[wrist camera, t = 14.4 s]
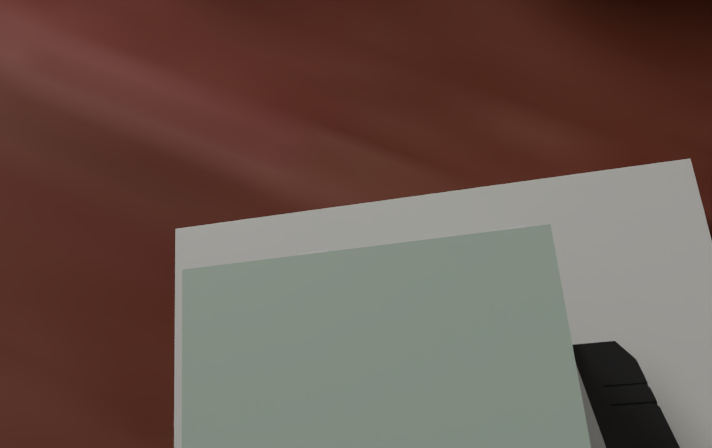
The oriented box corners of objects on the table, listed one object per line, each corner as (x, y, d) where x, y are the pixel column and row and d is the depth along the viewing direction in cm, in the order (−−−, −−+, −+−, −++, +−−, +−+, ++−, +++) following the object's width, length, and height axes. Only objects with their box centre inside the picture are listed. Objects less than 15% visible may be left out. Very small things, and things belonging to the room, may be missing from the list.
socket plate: (212, 683, 17) (172, 733, 15) (208, 244, 21) (175, 228, 19) (783, 688, 15) (843, 748, 12) (661, 186, 18) (690, 158, 16)
